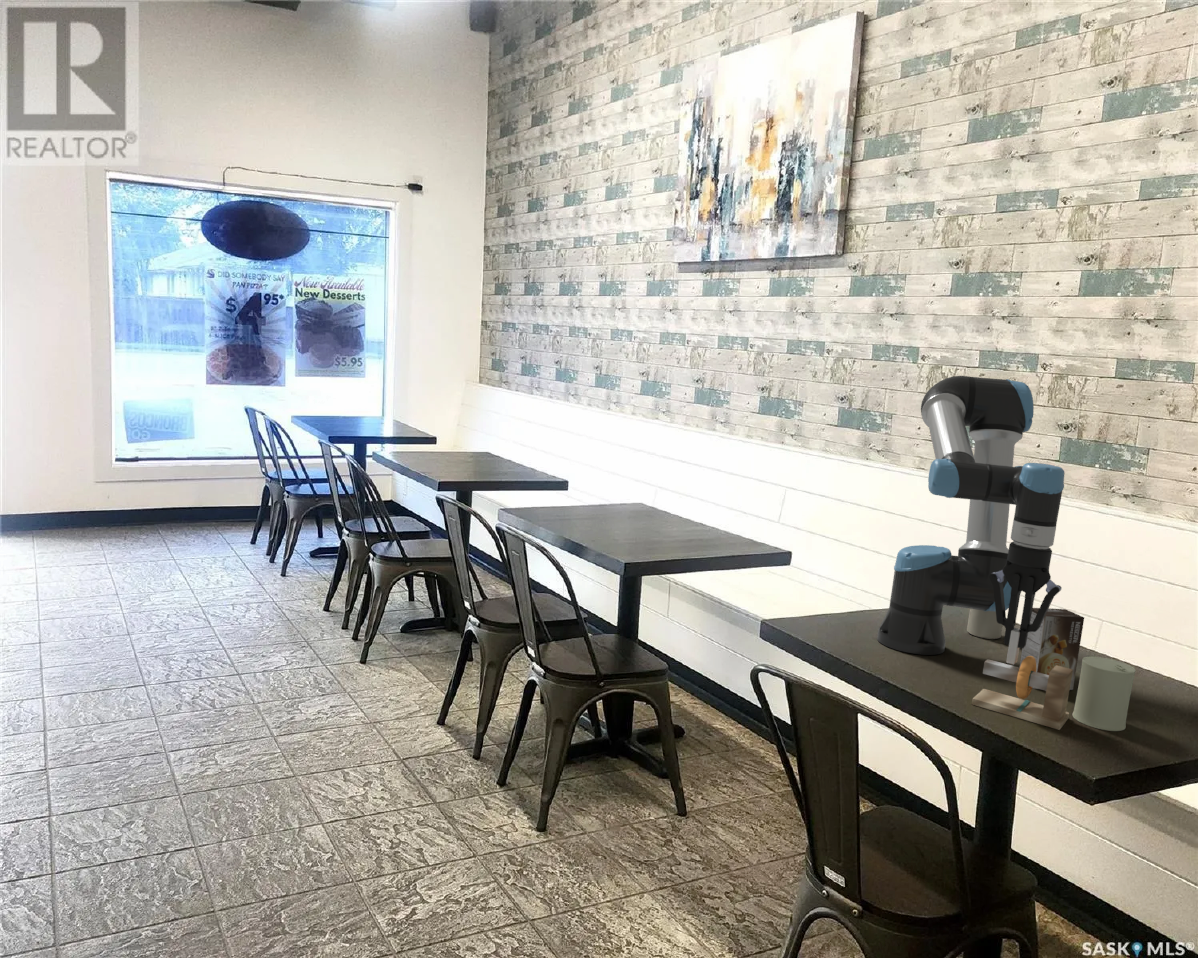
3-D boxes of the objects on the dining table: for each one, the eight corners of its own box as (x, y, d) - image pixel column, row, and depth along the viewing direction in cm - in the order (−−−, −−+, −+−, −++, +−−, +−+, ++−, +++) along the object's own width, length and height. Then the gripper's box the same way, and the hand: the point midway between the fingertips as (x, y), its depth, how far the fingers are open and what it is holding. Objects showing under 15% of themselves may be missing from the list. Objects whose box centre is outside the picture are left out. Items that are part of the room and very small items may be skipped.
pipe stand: (971, 704, 187) (979, 655, 185) (982, 694, 193) (990, 646, 192) (1059, 729, 177) (1068, 678, 176) (1068, 718, 184) (1076, 668, 182)
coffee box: (1054, 679, 207) (1066, 608, 204) (1073, 690, 201) (1086, 617, 198) (1016, 678, 205) (1028, 606, 203) (1034, 689, 199) (1046, 615, 197)
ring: (1012, 700, 182) (1019, 660, 181) (1022, 690, 189) (1028, 651, 187) (1023, 703, 181) (1030, 663, 180) (1033, 693, 187) (1039, 654, 186)
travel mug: (1005, 636, 237) (1017, 566, 234) (992, 641, 231) (1004, 569, 229) (974, 627, 243) (985, 559, 240) (961, 632, 237) (972, 562, 234)
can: (1102, 733, 178) (1113, 671, 176) (1061, 713, 186) (1071, 654, 184) (1136, 729, 182) (1147, 669, 180) (1094, 710, 190) (1104, 652, 188)
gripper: (990, 540, 183) (972, 657, 187) (1064, 554, 175) (1043, 676, 179) (1000, 535, 189) (982, 648, 193) (1071, 548, 182) (1051, 666, 185)
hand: (1011, 661), depth 186 cm, fingers closed
